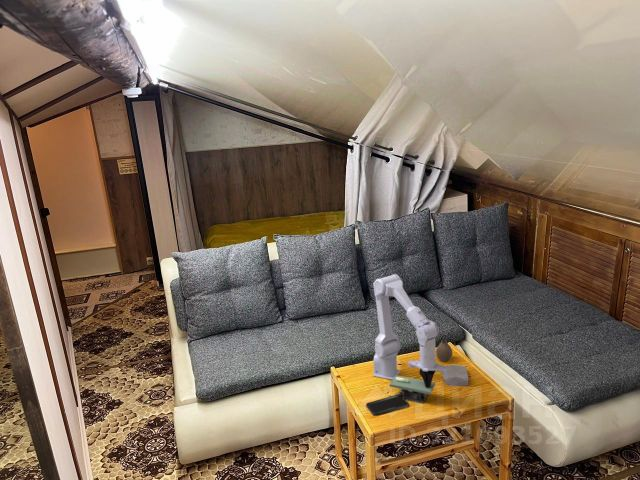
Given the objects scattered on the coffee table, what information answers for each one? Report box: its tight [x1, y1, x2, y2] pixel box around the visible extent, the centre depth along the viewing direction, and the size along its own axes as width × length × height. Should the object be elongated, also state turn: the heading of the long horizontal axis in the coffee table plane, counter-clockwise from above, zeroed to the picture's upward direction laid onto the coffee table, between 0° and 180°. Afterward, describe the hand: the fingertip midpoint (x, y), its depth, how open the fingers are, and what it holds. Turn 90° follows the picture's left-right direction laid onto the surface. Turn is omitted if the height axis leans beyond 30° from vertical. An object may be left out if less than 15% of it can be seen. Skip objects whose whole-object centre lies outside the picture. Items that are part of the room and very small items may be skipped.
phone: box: [365, 393, 410, 417], centre depth 174 cm, size 8×1×15 cm
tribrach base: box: [397, 389, 428, 404], centre depth 178 cm, size 10×7×3 cm
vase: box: [435, 340, 453, 363], centre depth 203 cm, size 7×7×9 cm
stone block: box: [442, 364, 469, 387], centre depth 189 cm, size 12×5×10 cm
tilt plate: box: [389, 375, 436, 395], centre depth 178 cm, size 16×7×3 cm, turn 62°
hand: (428, 386), depth 175 cm, fingers closed, pressing on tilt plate
